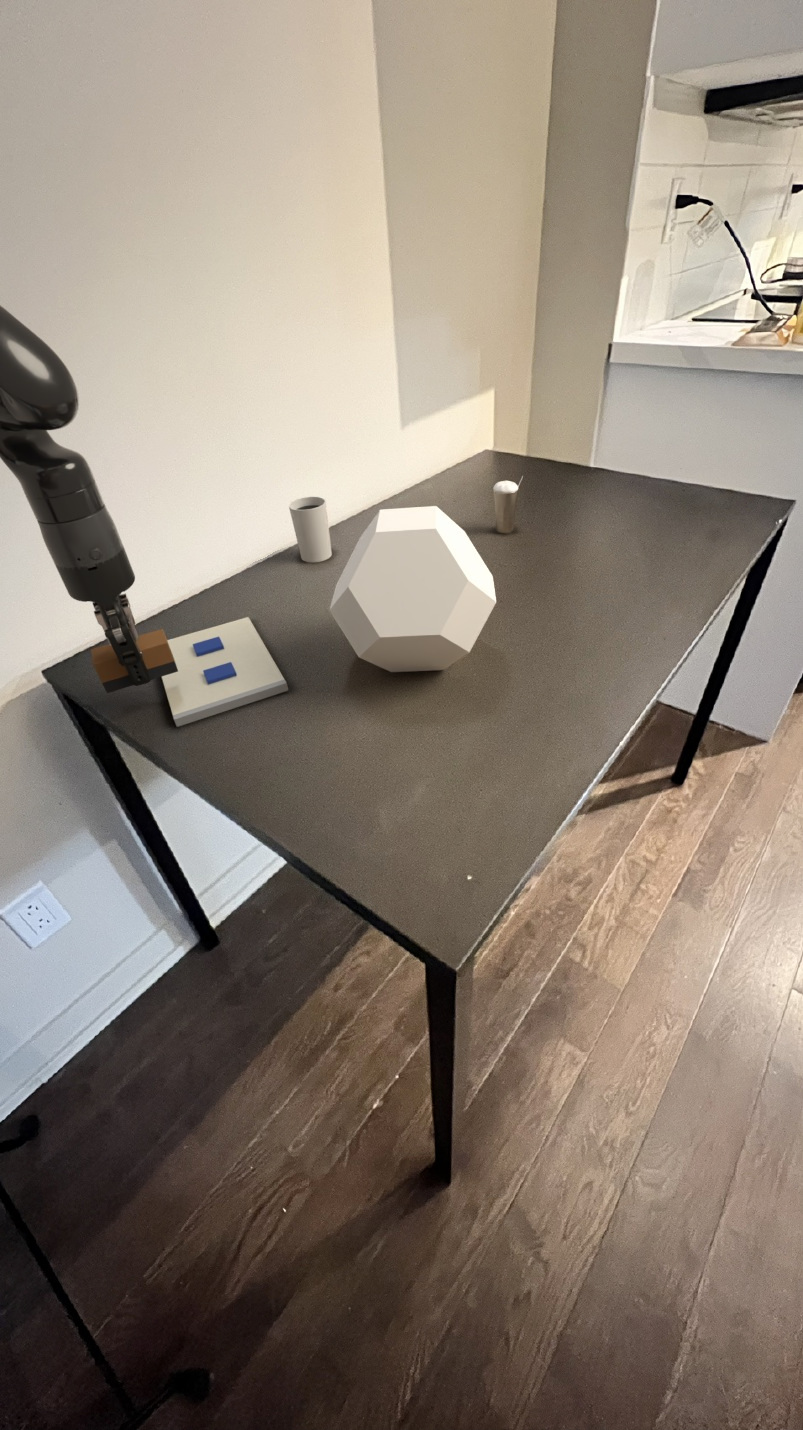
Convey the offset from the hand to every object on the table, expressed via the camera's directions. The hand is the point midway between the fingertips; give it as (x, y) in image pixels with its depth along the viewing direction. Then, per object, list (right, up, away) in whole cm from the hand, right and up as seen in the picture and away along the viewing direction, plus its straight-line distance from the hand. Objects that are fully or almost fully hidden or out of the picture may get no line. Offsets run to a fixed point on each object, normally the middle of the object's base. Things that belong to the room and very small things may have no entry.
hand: (140, 673), depth 81 cm
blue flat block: (+6, +4, +11) cm, 13 cm away
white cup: (+18, +24, +36) cm, 47 cm away
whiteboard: (+7, +1, +9) cm, 12 cm away
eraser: (0, 0, 0) cm, 0 cm away
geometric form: (+36, +3, +7) cm, 37 cm away
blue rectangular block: (+9, 0, +5) cm, 10 cm away
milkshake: (+54, +30, +38) cm, 73 cm away
